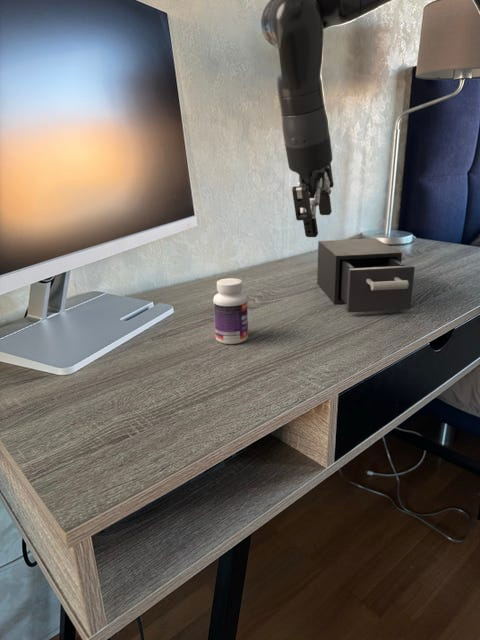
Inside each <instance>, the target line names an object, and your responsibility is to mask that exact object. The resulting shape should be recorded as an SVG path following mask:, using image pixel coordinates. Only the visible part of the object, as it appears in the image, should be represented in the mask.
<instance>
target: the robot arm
mask: <svg viewBox="0 0 480 640" xmlns="http://www.w3.org/2000/svg"><path fill="white" fill-rule="evenodd" d="M392 1H394V0H269V1H268V2H267V3H266V5H265V7H264V9H263V11H262V14H261V19H260V28H261V32H262V35H263V38H264V39H265V41H267V43H268V44H269V45H271V46H272V47H274V48H275V49H278V59H279V67H280V74H279V75H278V76H277V79H276V89H277V98H278V103H279V108H280V115H281V129H282V135H283V141H284V147H285V152H286V158H287V164H288V168H289V170H290V171H291V172H293V173H296V174H297V175H298V186H292V188H291V192H292V198H293V199H292V200H293V206H294V212H295V219H296V221H302V223H303V228H304V234H305V237H306V238H316V237H317V236H318V235H319V230H318V222H317V217H316V216H317V207H318V211H319V215H321V216H330V215H331V214H332V212H333V211H332V201H331V194H332V188H334V186H335V185H334V177H333V169H332V164H331V163H332V161H333V149H332V141H331V140H332V139H331V132H330V124H329V116H328V113H327V107H326V101H325V92H324V85H323V77H322V67H323V60H324V58H323V56H324V39H325V38H324V32H325V30H326V29H328V28H331V27H336V26H337V27H338V26H342V25H346V24H349V23H352V22H353V21H356V20H357V19H360V18H361V17H364V16H366V15H367V14H370V13H372V12H373V11H376V10H377V9H379V8H381V7H383V6H385V5H387V4H389V3H391V2H392ZM472 2H473V4H474V5H475V7H476V10H477V11H478V13H479V15H480V0H472Z"/></svg>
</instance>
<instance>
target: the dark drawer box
mask: <svg viewBox="0 0 480 640" xmlns="http://www.w3.org/2000/svg"><path fill="white" fill-rule="evenodd" d="M415 271H416V266H414V265H412V264H410V265H409V264H408V265H405V264H404V263H403V262H402V261H401V262H399V261H398V260H396V259H394V258H392V257H386V258H367V259H348V260H340V273H339V296H340V297H341V299H342V300H343V301H344V302H345V303H346V304H345V305H346V307H345V308H346V309H345V310H346V312H347V313H363V312H380V311H382V312H383V311H397V310H398V311H399V310H400V311H401V310H411V308H412V307H411V306H412V298H413V297H412V296H413V286H414V279H415Z"/></svg>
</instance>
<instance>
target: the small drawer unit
mask: <svg viewBox="0 0 480 640" xmlns="http://www.w3.org/2000/svg"><path fill="white" fill-rule="evenodd" d="M317 243H318V244H317V276H316V277H317V278H316V283H317V285H318V286H319V288H320V289H321V290H322V292H323V293H324V294H325V295H326V296H327V297H328V299H329V300H330V301H331V302H332V304H333V305H347V304H346V303H345V302H344V301H343V300H342V299H341V297H340V296H339V273H340V260H348V259H367V258H386V257H392V258H394V259H396V260H398V261H399V262H401V263H402V255H403V252H401V251H400V250H398V249H396V248H394V247H392V246H391V245H388V244H386V243H385V242H383V241H380V240H379V239H378V238H375V237H373V238H372V237H371V238H355V239H354V238H352V239H333V240H318V241H317Z"/></svg>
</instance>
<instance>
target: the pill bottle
mask: <svg viewBox="0 0 480 640" xmlns="http://www.w3.org/2000/svg"><path fill="white" fill-rule="evenodd" d="M242 291H243V280H241V279H240V278H234V277H233V278H232V277H229V278H222V279H219V280H217V281H216V292H218V293H216V294H215V295H214V296H213V299H212V300H213V303H212V304H213V317H214V320H213V321H214V334H215V339H216V341H217V342H219V343H221V344H224V345H236V344H241V343H243V342H245V341H246V340H247V339H248V338H249V320H248V319H249V318H248V317H249V316H248V297H247V294H245V293H244V292H242Z"/></svg>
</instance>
